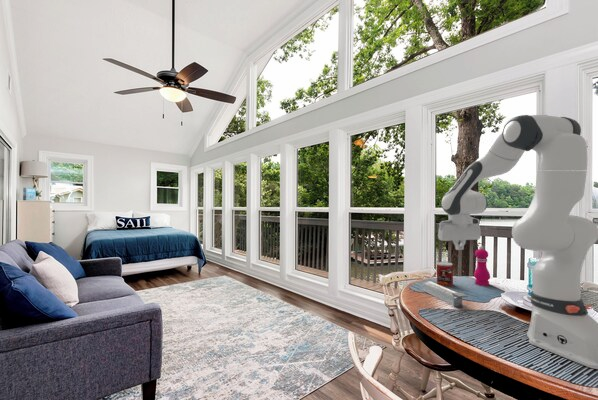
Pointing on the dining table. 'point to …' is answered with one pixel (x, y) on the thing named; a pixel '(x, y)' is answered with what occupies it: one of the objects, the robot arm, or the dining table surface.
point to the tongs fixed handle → (443, 295)
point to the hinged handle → (448, 290)
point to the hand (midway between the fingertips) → (459, 249)
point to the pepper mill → (481, 268)
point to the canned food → (445, 273)
